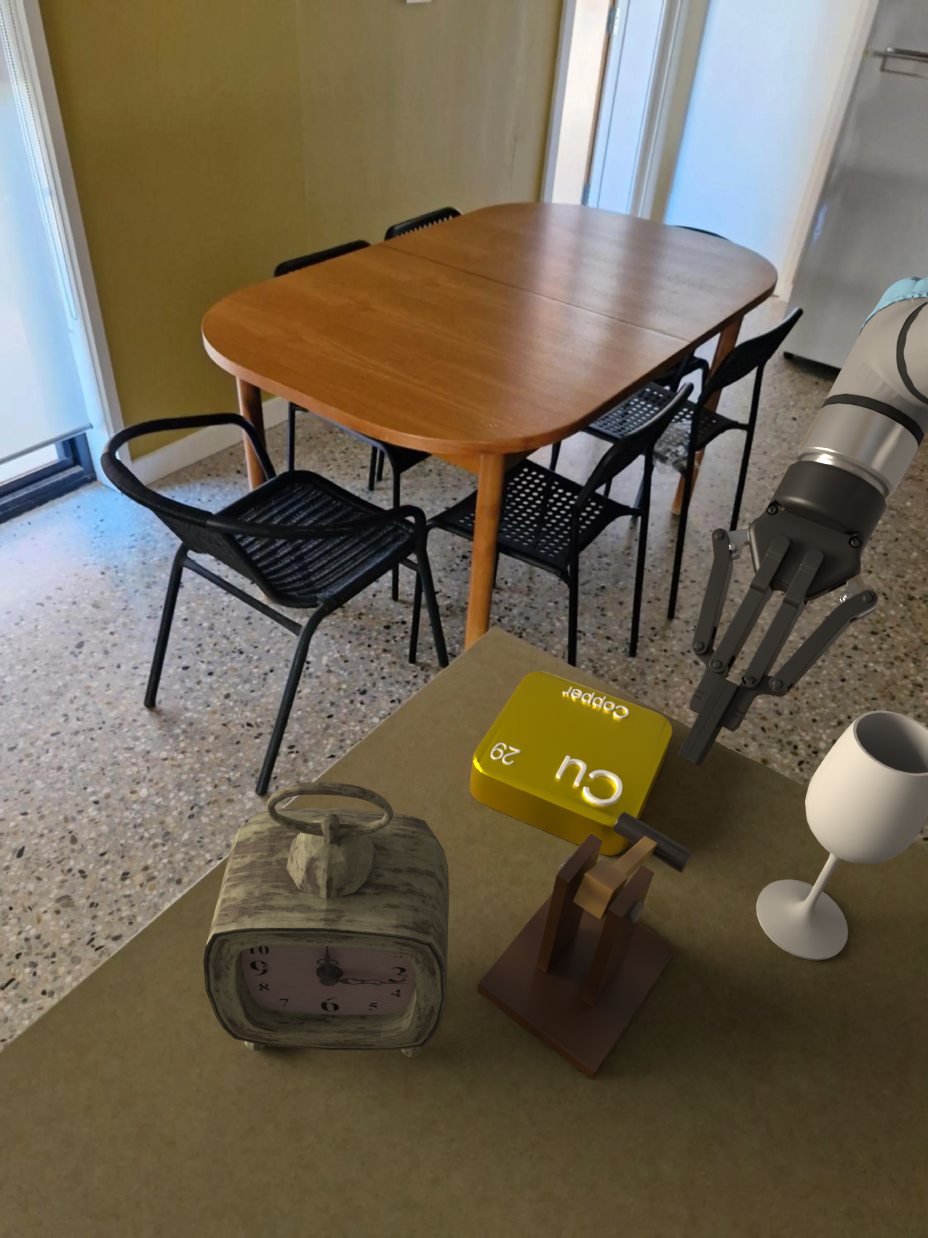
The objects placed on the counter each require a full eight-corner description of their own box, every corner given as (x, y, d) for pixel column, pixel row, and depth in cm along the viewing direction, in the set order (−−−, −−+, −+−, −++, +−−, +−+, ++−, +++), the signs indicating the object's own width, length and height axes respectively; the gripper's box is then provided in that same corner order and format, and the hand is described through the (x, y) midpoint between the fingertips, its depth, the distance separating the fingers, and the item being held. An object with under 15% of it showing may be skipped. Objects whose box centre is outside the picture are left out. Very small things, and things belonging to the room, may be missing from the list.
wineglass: (837, 980, 68) (950, 805, 55) (741, 930, 71) (827, 752, 58) (858, 908, 73) (967, 732, 60) (768, 864, 76) (853, 686, 63)
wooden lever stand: (563, 884, 73) (588, 782, 65) (672, 956, 69) (713, 856, 61) (476, 991, 65) (492, 891, 57) (592, 1080, 61) (626, 985, 53)
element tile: (668, 749, 86) (679, 714, 83) (620, 865, 75) (630, 830, 72) (526, 695, 90) (531, 660, 87) (461, 797, 79) (464, 761, 76)
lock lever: (617, 830, 71) (628, 805, 70) (684, 871, 68) (697, 846, 68) (549, 886, 61) (561, 857, 60) (625, 937, 58) (639, 908, 57)
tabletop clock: (223, 1069, 60) (172, 842, 44) (249, 946, 67) (213, 712, 51) (437, 1078, 60) (462, 856, 45) (441, 955, 67) (463, 725, 52)
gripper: (924, 530, 67) (775, 807, 66) (761, 468, 72) (624, 723, 72) (934, 495, 60) (768, 804, 60) (753, 431, 66) (601, 712, 65)
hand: (689, 760), depth 66 cm, fingers closed
